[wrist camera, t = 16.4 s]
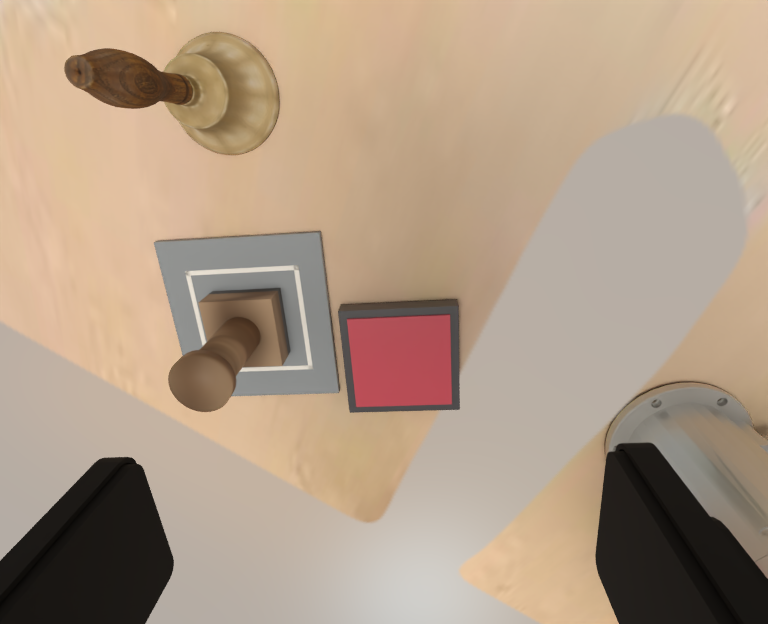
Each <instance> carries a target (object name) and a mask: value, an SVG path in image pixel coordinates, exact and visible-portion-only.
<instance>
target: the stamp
mask: <svg viewBox="0 0 768 624" xmlns="http://www.w3.org/2000/svg"><path fill="white" fill-rule="evenodd" d="M198 303H199V308H200V312H201V316H202V320H203V325H204V329H205V333H206V338H207V342H206V343H205V344H204V345H203V347H202V348H201V349H200V350H194V351H191V352H188V353H186V354H185V355H183V356H182V357H181V358H180V359H179V360H178V361H177V362H176V363H175V364H174V365H173V367H172V368H171V370H170V372H169V378H168V381H169V387H170V389H171V391H172V393H173V395H174V396H175V398H176V399H177V400H178V401H179V402H180V403H182V404H183V405H184V406H186V407H188V408H190V409H192V410H195V411H200V412H211V411H215V410H218V409H220V408H221V407H223V406H224V405H225V404H226V403H227V401H228V400H229V398H230V397H231V395H232V394H233V392H234V390H235V388H236V376H237V374H238V373H239V371H240V370H241V369H242V367H266V366H283V364H284V362H285V360H286V359H287V357H288V355H289V353H290V351H291V350H290V344H289V338H288V332H287V325H286V319H285V313H284V307H283V301H282V294H281V288H266V289H246V290H226V291H212V292H211V293H209V294H208V295H207V296H206V297H205V298H203V299H202V300H201V301H200V302H198Z"/></svg>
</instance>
